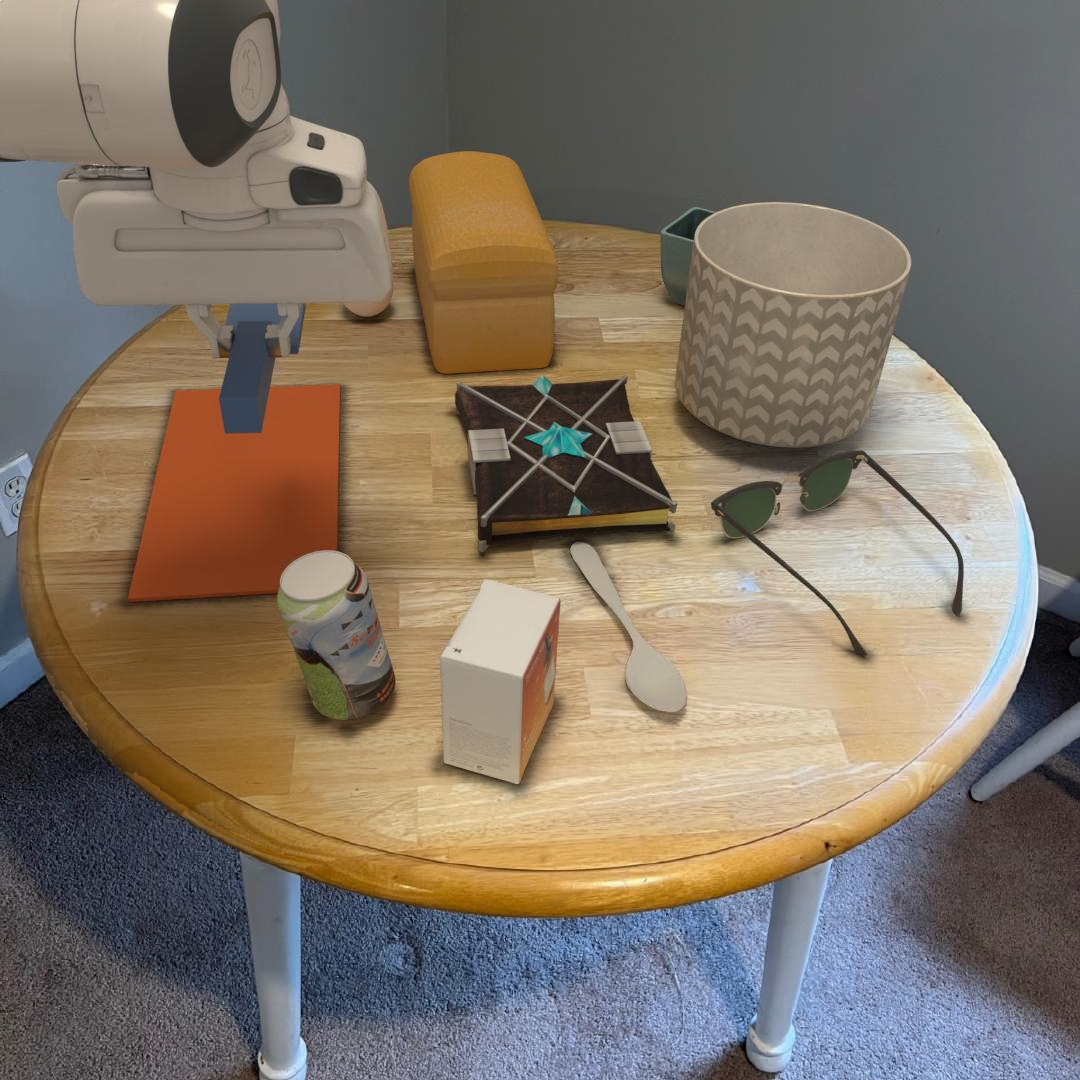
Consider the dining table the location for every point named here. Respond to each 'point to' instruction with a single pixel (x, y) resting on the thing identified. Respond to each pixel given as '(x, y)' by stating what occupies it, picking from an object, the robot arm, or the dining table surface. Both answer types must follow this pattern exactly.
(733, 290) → the planter
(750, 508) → the sunglasses
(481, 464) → the book
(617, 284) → the dining table surface
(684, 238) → the flower pot
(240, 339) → the blue stepped bar
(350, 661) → the beverage can
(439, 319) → the bread
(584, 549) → the spoon
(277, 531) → the flat orange board
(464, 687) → the small box
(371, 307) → the egg
